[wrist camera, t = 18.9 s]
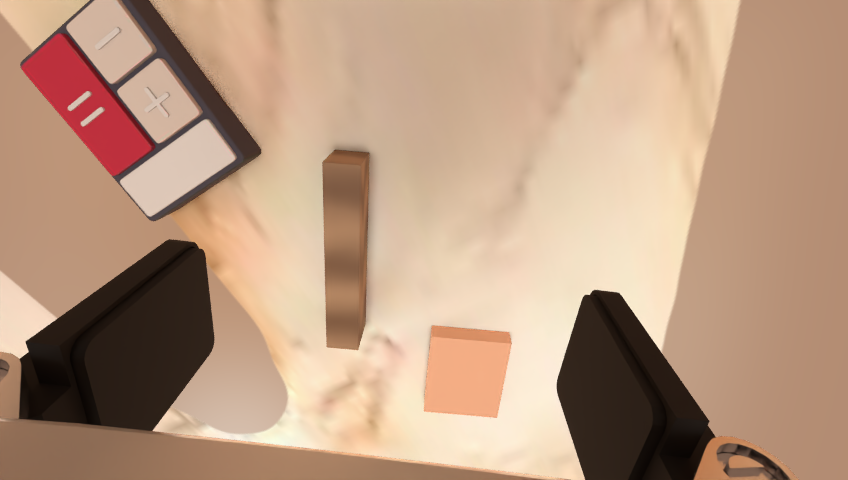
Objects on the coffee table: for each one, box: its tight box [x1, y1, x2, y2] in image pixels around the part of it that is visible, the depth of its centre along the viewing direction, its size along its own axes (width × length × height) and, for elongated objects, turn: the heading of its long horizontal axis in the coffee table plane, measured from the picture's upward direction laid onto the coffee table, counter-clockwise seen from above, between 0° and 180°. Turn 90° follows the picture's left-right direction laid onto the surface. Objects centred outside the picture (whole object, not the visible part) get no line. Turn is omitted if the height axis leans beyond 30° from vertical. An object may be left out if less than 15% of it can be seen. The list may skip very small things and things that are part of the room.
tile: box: [424, 326, 512, 418], centre depth 46 cm, size 2×8×10 cm
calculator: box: [20, 0, 261, 221], centre depth 36 cm, size 11×4×15 cm
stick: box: [322, 150, 369, 350], centre depth 40 cm, size 18×3×4 cm, turn 175°
